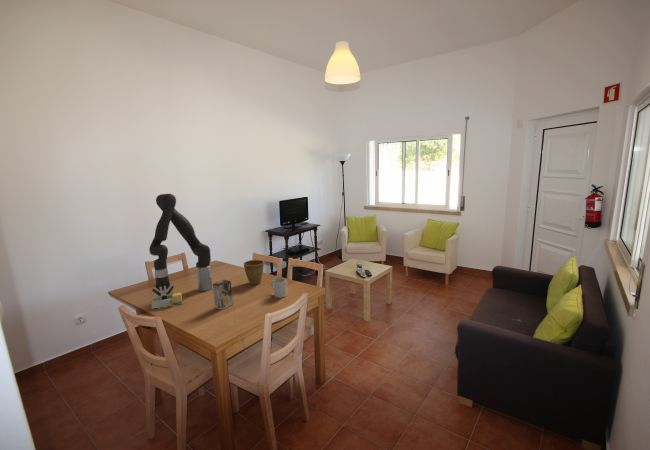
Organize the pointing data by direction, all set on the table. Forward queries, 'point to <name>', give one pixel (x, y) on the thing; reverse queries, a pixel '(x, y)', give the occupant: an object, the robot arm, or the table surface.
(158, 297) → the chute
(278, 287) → the mug
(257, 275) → the plant pot
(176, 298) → the block
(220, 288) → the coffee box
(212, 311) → the table surface
